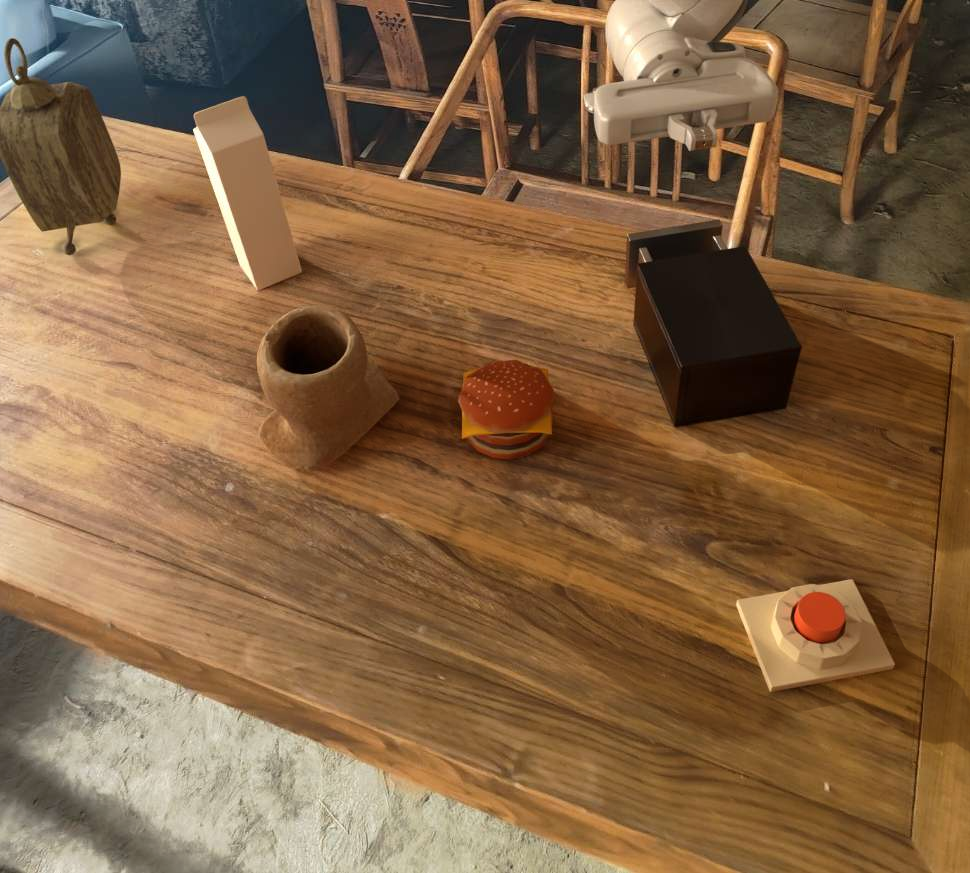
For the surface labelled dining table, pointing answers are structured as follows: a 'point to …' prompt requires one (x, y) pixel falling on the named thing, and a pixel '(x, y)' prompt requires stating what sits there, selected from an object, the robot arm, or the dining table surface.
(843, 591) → the button base
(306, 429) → the stone cup
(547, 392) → the hamburger
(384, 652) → the dining table surface
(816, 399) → the dining table surface
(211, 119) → the milk
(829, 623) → the button
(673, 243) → the drawer
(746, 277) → the dark brown box
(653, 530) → the dining table surface
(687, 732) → the dining table surface
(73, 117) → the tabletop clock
